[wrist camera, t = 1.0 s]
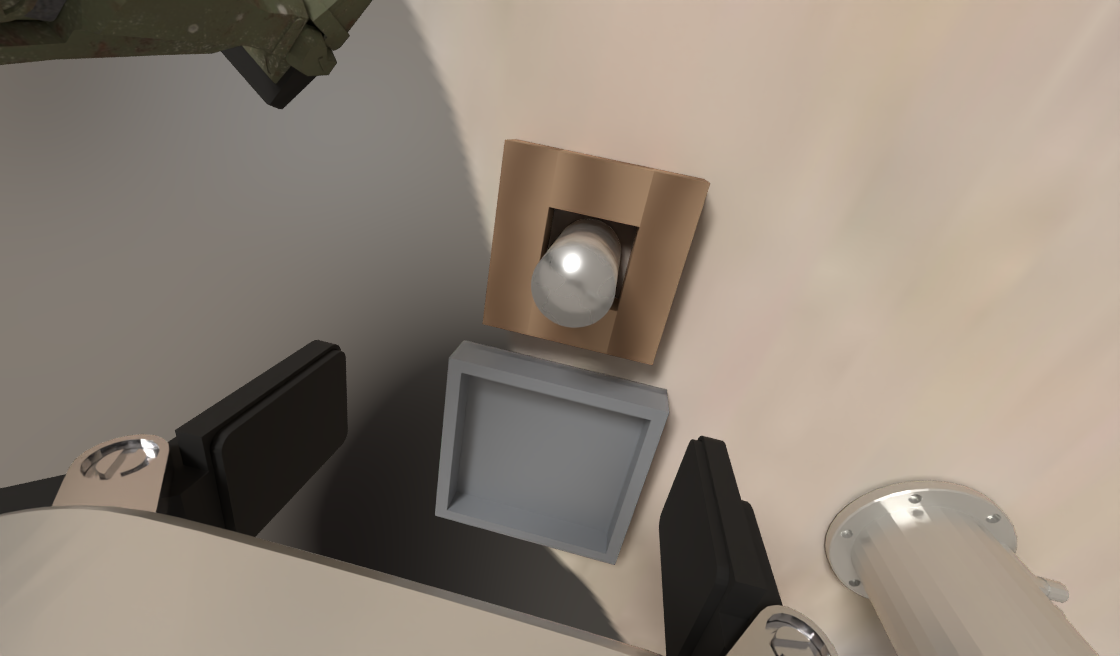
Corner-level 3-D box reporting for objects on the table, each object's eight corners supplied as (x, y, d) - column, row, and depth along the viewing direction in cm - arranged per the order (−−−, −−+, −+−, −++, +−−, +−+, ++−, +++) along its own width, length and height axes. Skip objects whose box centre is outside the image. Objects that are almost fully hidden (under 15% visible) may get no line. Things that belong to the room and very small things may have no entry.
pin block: (704, 179, 27) (710, 183, 25) (651, 348, 32) (652, 365, 30) (515, 139, 28) (505, 139, 26) (493, 311, 33) (482, 323, 31)
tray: (666, 389, 33) (669, 412, 31) (616, 535, 40) (614, 564, 37) (463, 339, 34) (449, 357, 32) (448, 490, 41) (434, 515, 38)
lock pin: (628, 226, 29) (624, 257, 22) (612, 288, 31) (604, 336, 24) (563, 212, 29) (538, 237, 22) (551, 274, 31) (525, 316, 24)
